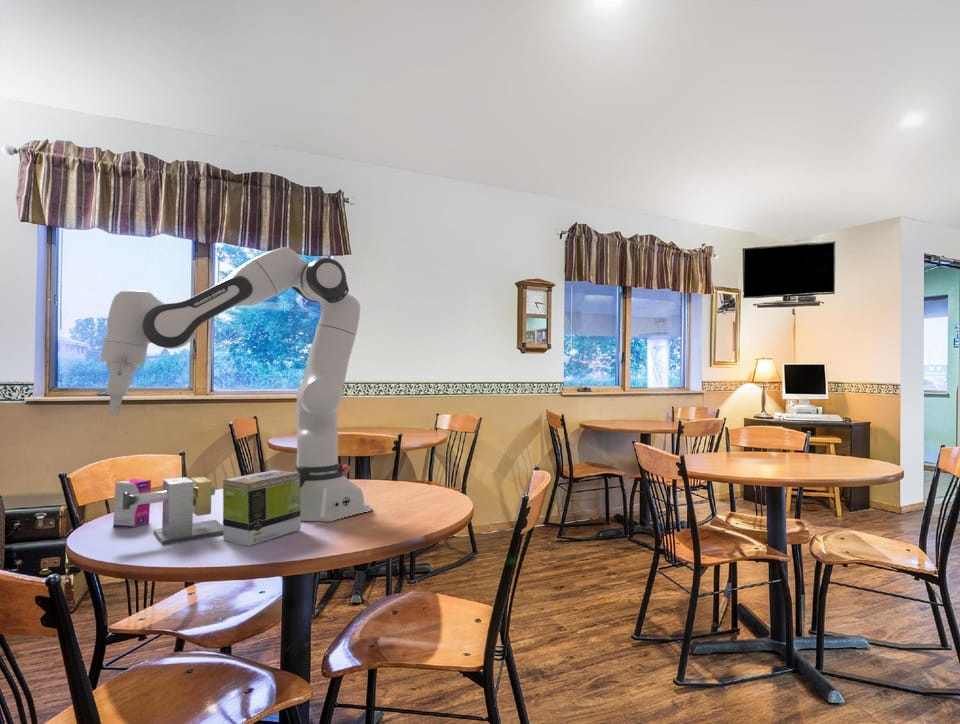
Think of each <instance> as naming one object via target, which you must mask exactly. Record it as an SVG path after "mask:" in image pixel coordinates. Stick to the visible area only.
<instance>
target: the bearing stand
mask: <svg viewBox="0 0 960 724" xmlns="http://www.w3.org/2000/svg"><path fill="white" fill-rule="evenodd" d="M162 488H163V489H162V491H168V494H167V501H164V502H162V520H161V521H162V522H161V523H162V525H161V528H155V529H153V535H154V536H155V538H156V539H157V541H159V543H160V544H161V545H162V546H166V544H167V545H171V543H172V544H176V542H178V543H182V541H184V542H188V541H187V540H189V541H193V539H195V540H199V539H198V538H201V539H205V538H204V537H206V538H212V537H216V536H217V535H218V536H222V535H223V523H220V522H219V521H218V520H217V519H211V520H206V521H199V522H194V521H193V518H194V516H193V514H194V513H193V481H191V478H188V477H187V476H185V477H184V476H183V477H177V478H175V477H174V478H166V479H163V483H162ZM211 536H212V537H211Z"/></svg>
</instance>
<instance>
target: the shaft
mask: <svg viewBox="0 0 960 724" xmlns="http://www.w3.org/2000/svg"><path fill="white" fill-rule="evenodd" d="M167 494H168V491H163V490H159V491H150V493H142V494H134V495H130V493H129V492H123V493H122V500H121V504H122V510H128V509H129V508H130V506H133V505H141V504H149V503H150V504H156V503H163V502H164V501H167ZM215 494H216V487H215V485H214V484H213V485H211V496H215ZM195 497H196V488H194V487H193V498H195Z"/></svg>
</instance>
